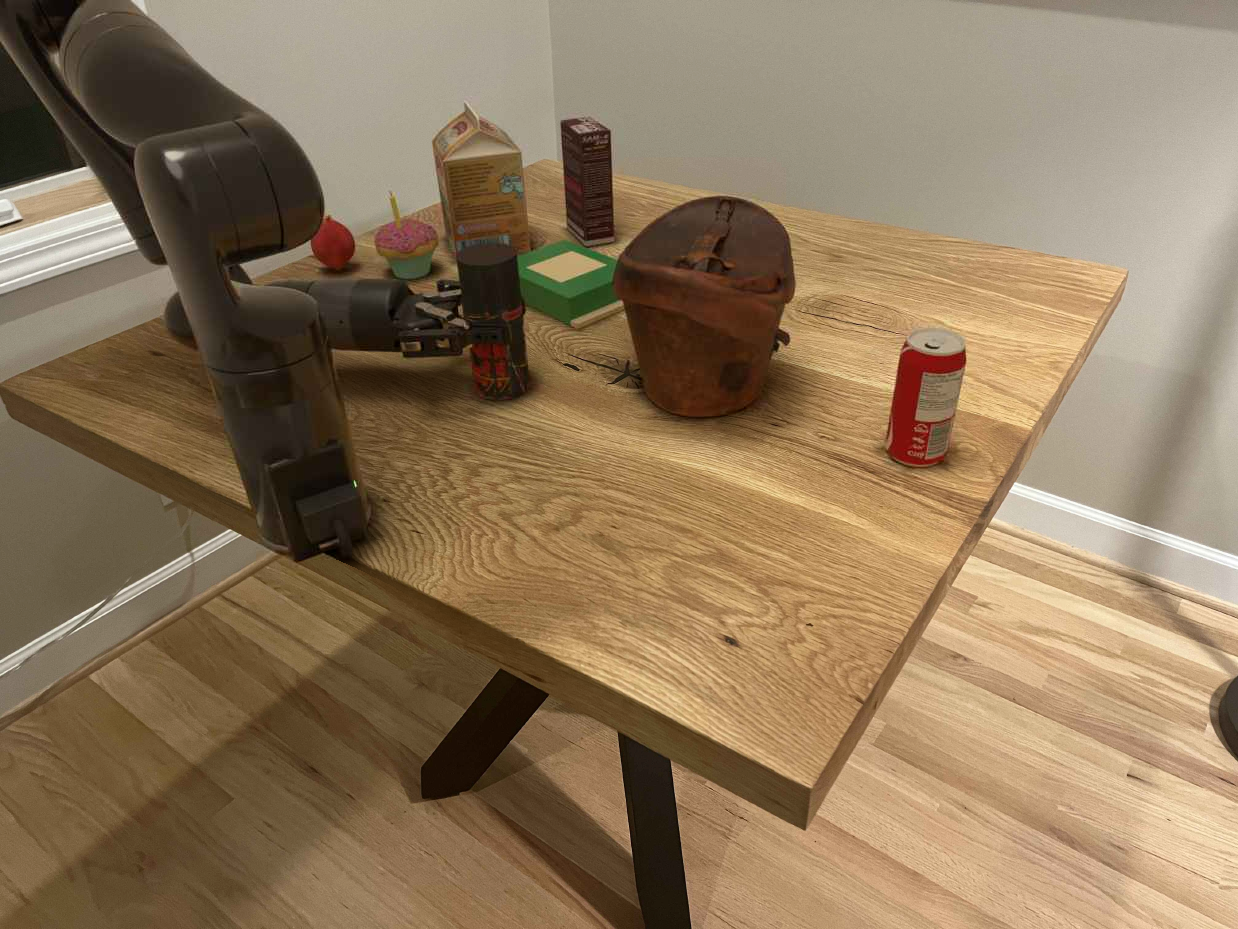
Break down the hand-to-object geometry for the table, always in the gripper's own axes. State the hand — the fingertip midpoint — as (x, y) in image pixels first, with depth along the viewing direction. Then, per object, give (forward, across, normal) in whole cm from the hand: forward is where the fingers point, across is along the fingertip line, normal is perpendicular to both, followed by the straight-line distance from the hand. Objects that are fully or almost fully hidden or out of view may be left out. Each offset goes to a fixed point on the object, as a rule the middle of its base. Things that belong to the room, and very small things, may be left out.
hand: (517, 319), depth 92 cm
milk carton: (-14, +41, +8) cm, 44 cm away
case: (+19, +1, +8) cm, 21 cm away
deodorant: (-2, 0, +8) cm, 9 cm away
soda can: (+39, -9, +8) cm, 41 cm away
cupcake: (-22, +30, +8) cm, 38 cm away
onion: (-33, +30, +8) cm, 46 cm away
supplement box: (0, +45, +8) cm, 46 cm away
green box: (0, +25, +8) cm, 26 cm away
